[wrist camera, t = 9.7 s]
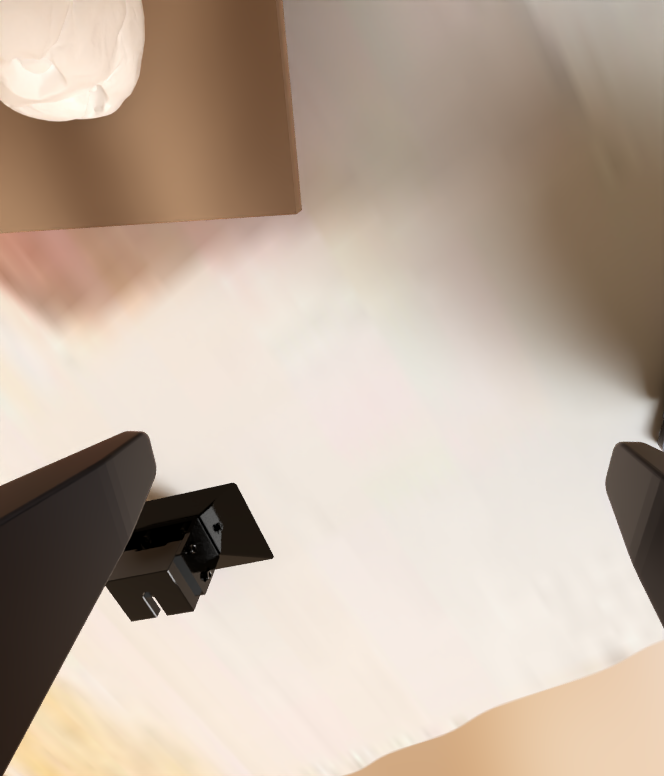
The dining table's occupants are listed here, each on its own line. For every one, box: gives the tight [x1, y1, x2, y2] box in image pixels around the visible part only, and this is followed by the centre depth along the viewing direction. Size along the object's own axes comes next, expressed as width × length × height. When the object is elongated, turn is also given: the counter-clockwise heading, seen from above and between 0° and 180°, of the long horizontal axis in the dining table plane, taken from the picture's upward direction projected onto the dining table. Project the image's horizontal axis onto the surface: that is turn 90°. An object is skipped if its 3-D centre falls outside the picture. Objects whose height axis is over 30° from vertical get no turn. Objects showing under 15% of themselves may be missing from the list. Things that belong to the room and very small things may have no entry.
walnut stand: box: [0, 0, 302, 233], centre depth 15 cm, size 12×12×3 cm
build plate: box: [105, 483, 274, 621], centre depth 25 cm, size 12×7×5 cm, turn 108°
